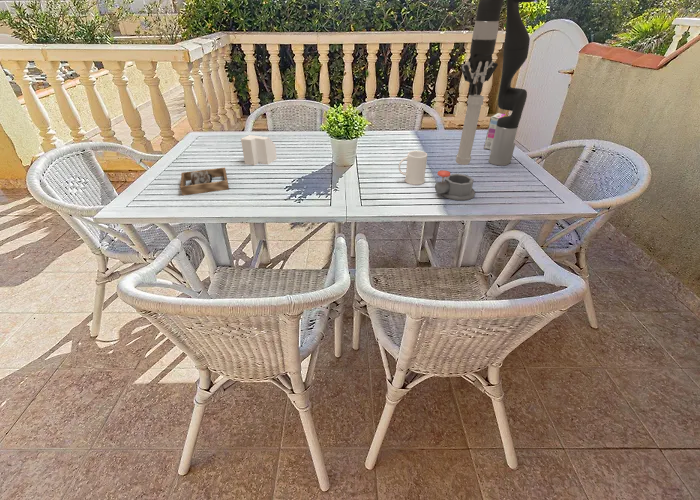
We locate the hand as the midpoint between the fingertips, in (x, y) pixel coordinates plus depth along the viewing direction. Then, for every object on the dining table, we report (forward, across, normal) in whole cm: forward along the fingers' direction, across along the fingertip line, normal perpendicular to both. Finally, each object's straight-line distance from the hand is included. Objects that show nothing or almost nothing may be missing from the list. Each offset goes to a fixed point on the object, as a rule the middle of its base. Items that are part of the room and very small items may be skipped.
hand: (474, 94), depth 128 cm
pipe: (+25, 0, 0) cm, 25 cm away
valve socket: (+37, +2, 0) cm, 37 cm away
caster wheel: (+38, +98, -43) cm, 114 cm away
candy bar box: (+38, -49, -43) cm, 75 cm away
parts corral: (+37, +96, -42) cm, 111 cm away
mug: (+38, +12, -17) cm, 43 cm away
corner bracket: (+38, +70, -62) cm, 101 cm away
